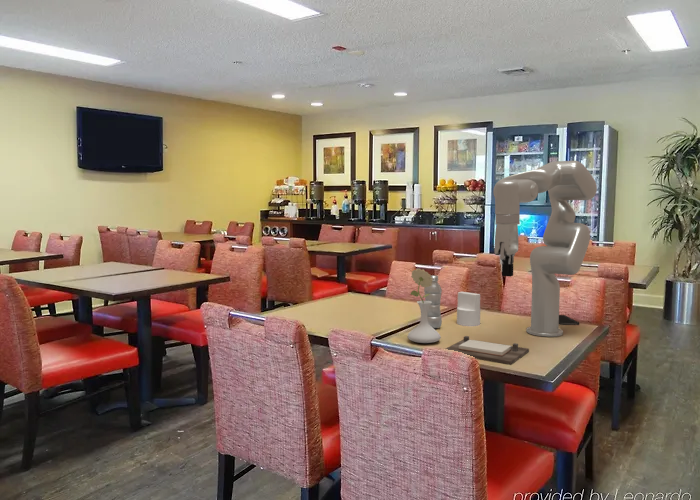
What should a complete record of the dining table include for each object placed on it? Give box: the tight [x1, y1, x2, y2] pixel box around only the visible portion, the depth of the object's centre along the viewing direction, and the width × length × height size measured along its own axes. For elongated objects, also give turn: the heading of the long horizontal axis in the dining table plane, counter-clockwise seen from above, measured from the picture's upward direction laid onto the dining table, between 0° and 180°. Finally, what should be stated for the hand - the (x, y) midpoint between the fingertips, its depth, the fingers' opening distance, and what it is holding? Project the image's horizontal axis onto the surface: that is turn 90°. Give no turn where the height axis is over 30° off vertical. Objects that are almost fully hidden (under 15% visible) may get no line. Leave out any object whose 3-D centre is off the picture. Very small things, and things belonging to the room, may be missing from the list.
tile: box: [459, 339, 513, 356], centre depth 176 cm, size 9×14×1 cm, turn 55°
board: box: [445, 335, 530, 366], centre depth 177 cm, size 17×22×3 cm
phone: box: [559, 314, 580, 326], centre depth 222 cm, size 8×1×15 cm
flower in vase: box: [407, 267, 442, 344], centre depth 190 cm, size 13×11×25 cm
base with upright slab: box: [456, 291, 481, 327], centre depth 217 cm, size 9×9×12 cm
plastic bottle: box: [423, 274, 443, 329], centre depth 209 cm, size 6×7×20 cm
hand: (507, 275), depth 181 cm, fingers closed
